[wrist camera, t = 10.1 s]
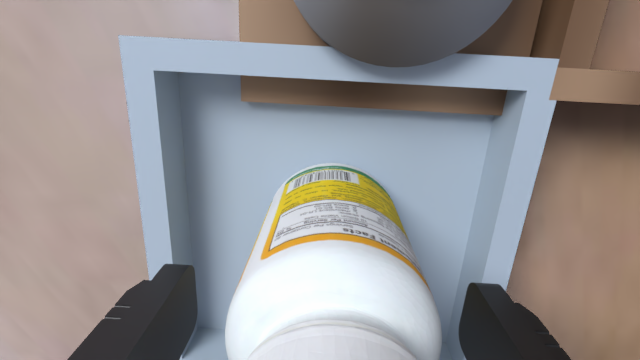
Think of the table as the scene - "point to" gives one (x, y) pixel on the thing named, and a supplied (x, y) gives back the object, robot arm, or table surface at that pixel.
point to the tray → (327, 147)
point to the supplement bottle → (332, 277)
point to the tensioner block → (433, 49)
